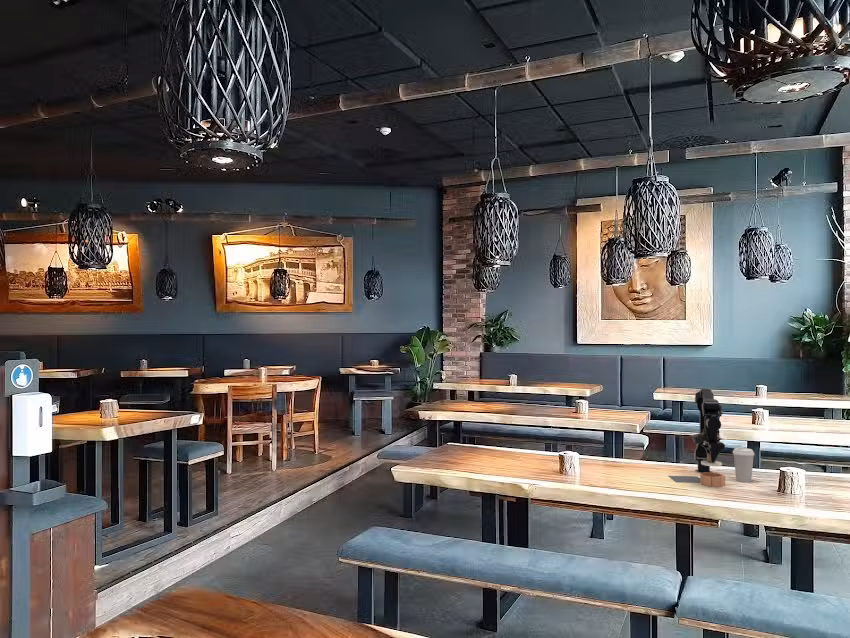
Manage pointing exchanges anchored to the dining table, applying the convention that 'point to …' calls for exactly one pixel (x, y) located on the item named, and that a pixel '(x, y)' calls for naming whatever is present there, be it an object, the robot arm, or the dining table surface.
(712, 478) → the bowl
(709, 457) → the lid
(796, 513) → the dining table surface
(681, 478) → the trivet
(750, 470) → the coffee cup
